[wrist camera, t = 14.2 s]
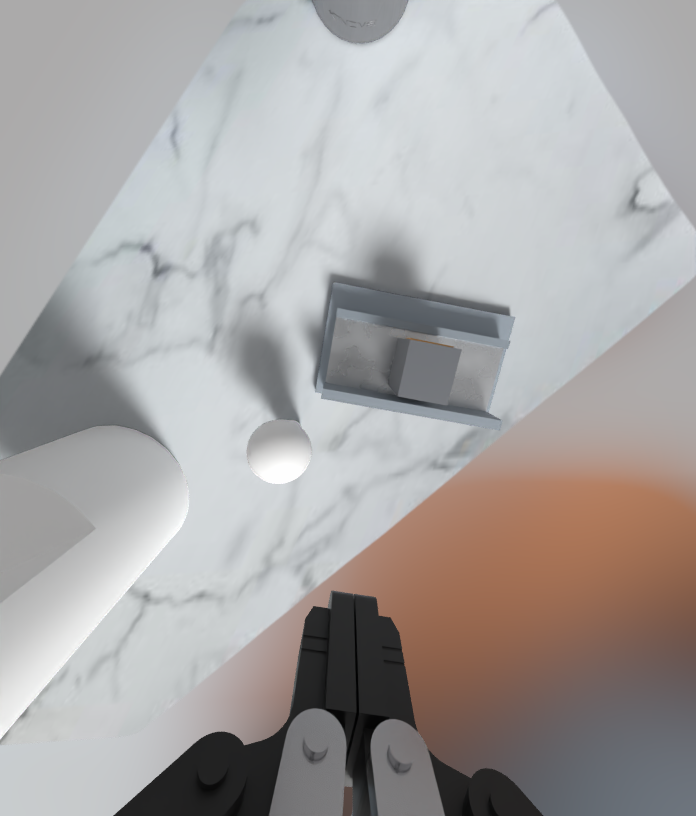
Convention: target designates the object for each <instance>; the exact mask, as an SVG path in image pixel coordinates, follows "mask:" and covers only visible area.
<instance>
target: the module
mask: <svg viewBox="0 0 696 816" xmlns="http://www.w3.org/2000/svg"><path fill="white" fill-rule="evenodd" d="M461 351H462V349H457V348H454V346H449V345H444V344H439V343H434V342H429V341H424V340H418V339H413V338H406V339H400V338H398V341H397V345H396V350H395V354H394V359H393V364H392V368H391V373H390V377H389V382H388V385H389V386H390V388H391V389H392V390H393V391H394V393H395V394H396V395H397V396H398V397H403V398H409V399H414V400H419V401H425V402H430V403H436V404H441V405H446V406H447V405H448V401H449V397H450V393H451V389H452V385H453V382H454V378H455V374H456V370H457V366H458V362H459V358H460V355H461Z"/></svg>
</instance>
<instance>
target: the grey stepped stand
mask: <svg viewBox="0 0 696 816" xmlns="http://www.w3.org/2000/svg"><path fill="white" fill-rule="evenodd" d="M336 317H341V318H346V319H351V320H357V321H362V322H367V323H373V324H378V325H383V326H388V327H394V328H399V329H404V330H410V331H415V332H420V333H425V334H431V335H436V336H441V337H447V338H452V339H457V340H462V341H468V342H473V343H478V344H484V345H489V346H494V347H499V348H504V349H503V353H502V356H501V360H500V363H499V367H498V370H497V374H496V378H495V381H494V385H493V388H492V392H491V396H490V399H489V403H488V406H487V410H486V411H480V410H475V409H469V408H463V407H458V406H452V405H447V406H446V405H441V404H436V403H430V402H425V401H419V400H414V399H409V398H403V397H398V396H397V395H391V394H386V393H380V392H375V391H369V390H364V389H358V388H353V387H347V386H341V385H336V384H330V383H325V381H326V375H327V369H328V364H329V358H330V352H331V346H332V340H333V334H334V328H335V322H336ZM514 320H515V317H512V316H507V315H502V314H496V313H491V312H486V311H481V310H476V309H471V308H465V307H460V306H455V305H450V304H445V303H440V302H434V301H429V300H424V299H419V298H414V297H409V296H403V295H398V294H393V293H388V292H383V291H378V290H372V289H367V288H362V287H357V286H352V285H347V284H341V283H336V282H333V286H332V293H331V299H330V305H329V311H328V317H327V323H326V329H325V335H324V341H323V348H322V354H321V360H320V366H319V372H318V378H317V384H316V390H315V392H318V393H322V396H321V399H327V400H332V401H338V402H343V403H349V404H355V405H360V406H366V407H371V408H377V409H383V410H388V411H394V412H400V413H405V414H411V415H416V416H422V417H428V418H433V419H439V420H444V421H450V422H456V423H461V424H467V425H473V426H478V427H484V428H489V429H495V430H500V428H501V424H502V420H500V419H498V418H497V417H495V416H493V415H491V414H489V413H488V412H489V409H490V405H491V402H492V398H493V394H494V391H495V387H496V384H497V380H498V377H499V373H500V370H501V366H502V362H503V359H504V355H505V352H506V349H508V347H509V344H510V341H509V338H510V334H511V330H512V327H513V323H514Z"/></svg>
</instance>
